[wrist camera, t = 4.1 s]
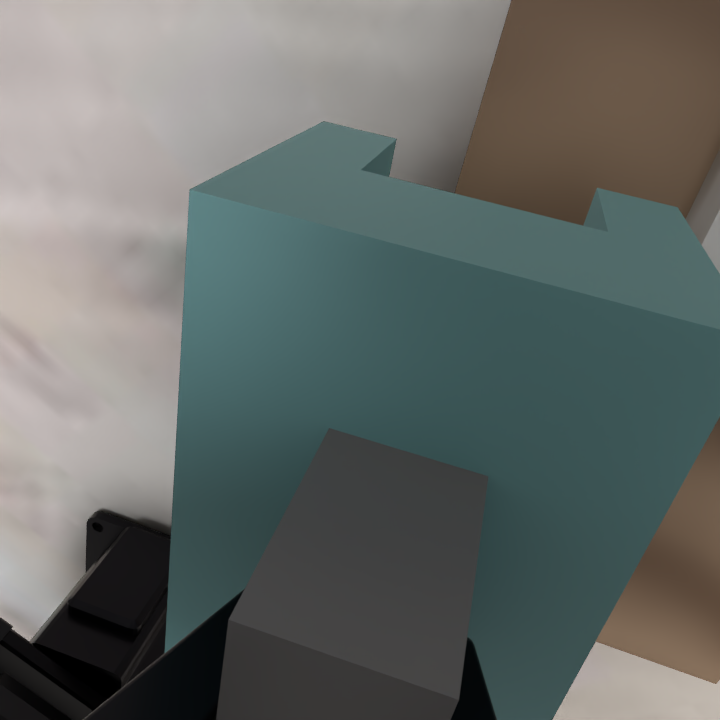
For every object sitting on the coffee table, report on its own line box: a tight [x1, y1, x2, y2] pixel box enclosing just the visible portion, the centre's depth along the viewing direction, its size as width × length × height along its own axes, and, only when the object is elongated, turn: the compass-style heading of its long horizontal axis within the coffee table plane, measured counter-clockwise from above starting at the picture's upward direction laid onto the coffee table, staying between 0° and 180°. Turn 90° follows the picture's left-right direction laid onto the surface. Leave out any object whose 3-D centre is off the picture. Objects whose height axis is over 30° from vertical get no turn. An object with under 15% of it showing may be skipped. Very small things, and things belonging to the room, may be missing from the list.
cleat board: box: [455, 0, 720, 684], centre depth 18 cm, size 20×13×4 cm, turn 166°
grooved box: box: [165, 121, 720, 720], centre depth 10 cm, size 10×6×8 cm, turn 169°
